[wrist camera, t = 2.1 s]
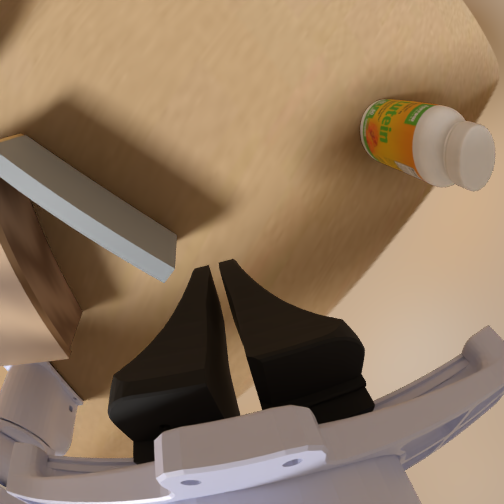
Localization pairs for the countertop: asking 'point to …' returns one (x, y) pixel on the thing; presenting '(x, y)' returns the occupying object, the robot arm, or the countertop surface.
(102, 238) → the cabinet door
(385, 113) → the supplement bottle
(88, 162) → the countertop surface
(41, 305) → the walnut cabinet
